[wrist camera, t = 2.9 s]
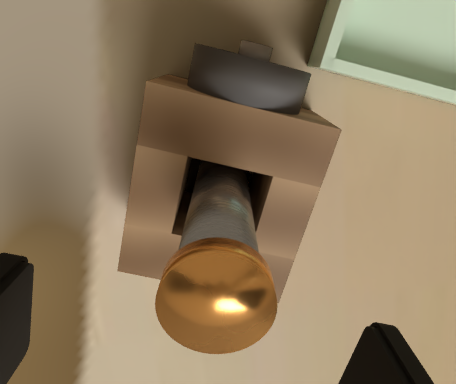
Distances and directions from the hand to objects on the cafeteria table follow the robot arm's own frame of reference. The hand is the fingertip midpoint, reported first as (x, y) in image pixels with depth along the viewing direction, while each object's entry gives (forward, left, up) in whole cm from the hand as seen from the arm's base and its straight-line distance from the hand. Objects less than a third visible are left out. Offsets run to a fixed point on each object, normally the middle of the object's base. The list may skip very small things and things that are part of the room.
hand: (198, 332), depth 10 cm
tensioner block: (-2, 0, -14) cm, 14 cm away
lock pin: (0, 0, -14) cm, 14 cm away
